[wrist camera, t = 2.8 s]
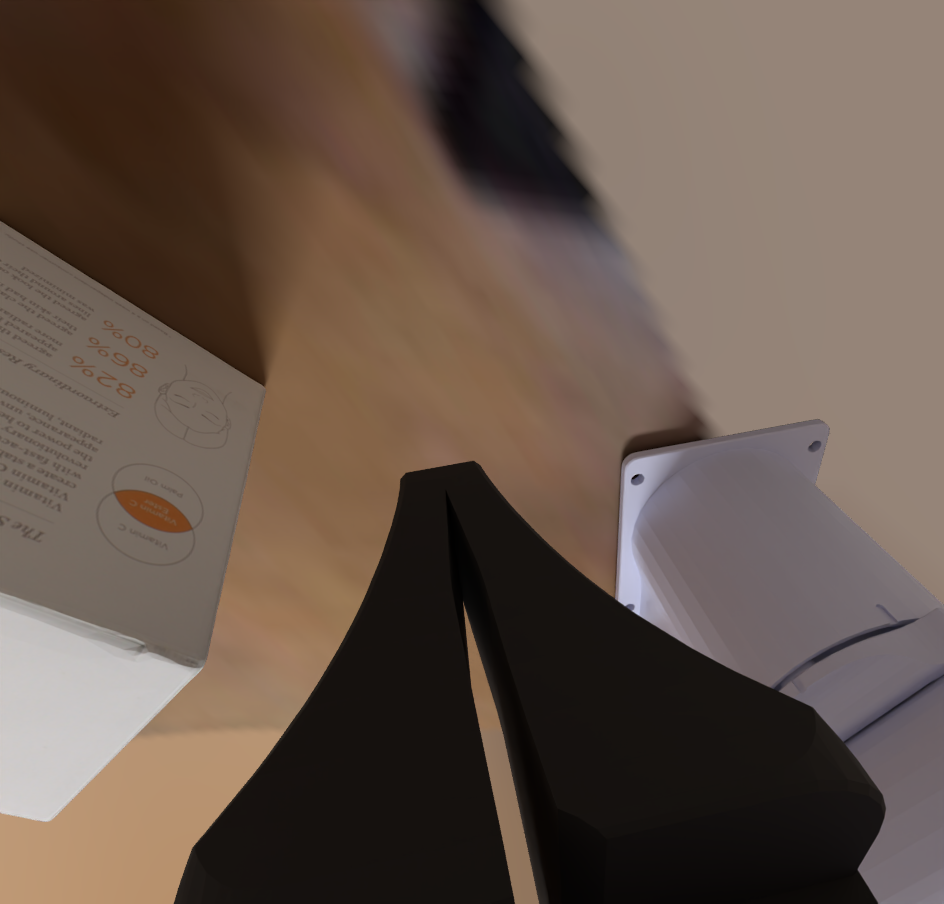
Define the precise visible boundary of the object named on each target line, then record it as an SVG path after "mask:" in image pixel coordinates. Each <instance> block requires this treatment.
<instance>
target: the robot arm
mask: <svg viewBox="0 0 944 904" xmlns="http://www.w3.org/2000/svg"><path fill="white" fill-rule="evenodd" d="M829 430H830V429H829V426H828V425H827V424H825V423H824V422H823V421H821V420H819V419H816V420H809V421H804V422H798V423H793V424H788V425H782V426H777V427H771V428H765V429H760V430H755V431H750V432H744V433H738V434H733V435H727V436H722V437H716V438H711V439H705V440H700V441H695V442H689V443H684V444H678V445H673V446H667V447H662V448H656V449H651V450H645V451H640V452H635V453H632V454H630V455H628V456H627V457H626V458H625V459H624V461H623V463H622V470H621V491H620V512H619V533H618V554H617V575H616V597H615V598H613V597H612V596H610V595H609V594H608V593H606V592H605V591H604V590H602V589H601V588H600V587H598V586H597V585H596V584H595V583H593V582H592V581H591V580H589V579H588V578H587V577H586V576H584V575H583V574H582V573H581V572H579V571H578V570H577V569H576V568H575V567H574V566H572V565H571V564H570V563H569V562H568V561H567V560H565V559H564V558H563V557H562V556H561V555H560V554H559V553H558V552H557V551H556V550H554V549H553V548H552V547H551V546H550V545H549V544H548V543H547V542H546V541H545V540H544V539H543V538H542V537H541V536H540V535H539V534H538V533H537V532H536V531H535V530H534V529H533V528H532V527H531V526H530V525H529V524H528V523H527V522H526V521H525V520H524V519H523V518H522V517H521V516H520V515H519V514H518V513H517V512H516V510H515V509H514V508H513V507H512V506H511V505H510V504H509V503H508V501H507V500H506V499H505V498H504V497H503V495H502V494H501V493H500V492H499V491H498V489H497V488H496V487H495V486H494V484H493V483H492V482H491V480H490V479H489V478H488V476H487V475H486V473H485V472H484V470H483V469H482V467H481V466H480V465H479V464H478V463H476V462H475V461H470V462H464V463H458V464H453V465H447V466H442V467H436V468H431V469H425V470H420V471H414V472H408V473H405V475H404V476H403V477H402V478H401V479H400V491H399V497H398V502H397V507H396V511H395V515H394V518H393V522H392V526H391V529H390V532H389V535H388V538H387V541H386V544H385V547H384V550H383V553H382V556H381V559H380V561H379V564H378V566H377V569H376V571H375V574H374V576H373V578H372V581H371V583H370V586H369V588H368V591H367V593H366V595H365V598H364V600H363V602H362V604H361V606H360V608H359V610H358V612H357V615H356V617H355V619H354V621H353V623H352V625H351V626H350V628H349V630H348V632H347V634H346V636H345V638H344V640H343V642H342V643H341V645H340V647H339V649H338V650H337V652H336V654H335V656H334V657H333V659H332V661H331V662H330V664H329V666H328V667H327V669H326V671H325V672H324V674H323V676H322V677H321V679H320V681H319V682H318V684H317V686H316V687H315V689H314V690H313V692H312V693H311V695H310V697H309V698H308V700H307V701H306V703H305V704H304V706H303V707H302V708H301V710H300V711H299V713H298V714H297V715H296V717H295V718H294V720H293V721H292V722H291V724H290V725H289V727H288V728H287V729H286V731H285V732H284V734H283V735H282V736H281V738H280V739H279V741H278V742H277V743H276V745H275V746H274V748H273V749H272V750H271V752H270V753H269V755H268V756H267V757H266V759H265V760H264V761H263V763H262V764H261V765H260V767H259V768H258V769H257V770H256V772H255V773H254V774H253V776H252V777H251V778H250V779H249V780H248V782H247V783H246V784H245V785H244V786H243V788H242V789H241V790H240V791H239V793H238V794H237V795H236V796H235V797H234V799H233V800H232V801H231V802H230V803H229V805H228V806H227V807H226V808H225V809H224V811H223V812H222V813H221V814H220V816H219V817H218V818H217V819H216V820H215V822H214V823H213V824H212V825H211V826H210V828H209V829H208V830H207V831H206V833H205V834H204V835H203V836H202V837H201V838H200V840H199V841H198V842H197V843H196V844H195V845H194V847H193V848H192V851H191V854H190V856H189V859H188V862H187V865H186V867H185V870H184V873H183V876H182V879H181V882H180V885H179V888H178V891H177V895H176V898H175V902H174V904H515V902H514V896H513V891H512V886H511V881H510V876H509V871H508V866H507V861H506V855H505V850H504V845H503V840H502V835H501V830H500V825H499V820H498V815H497V810H496V806H495V801H494V797H493V792H492V786H491V781H490V777H489V772H488V767H487V762H486V757H485V752H484V747H483V742H482V738H481V733H480V728H479V723H478V718H477V713H476V708H475V703H474V698H473V693H472V688H471V679H470V668H469V658H468V648H467V637H466V627H465V617H464V606H465V609H466V612H467V615H468V619H469V622H470V625H471V628H472V632H473V635H474V638H475V641H476V645H477V648H478V651H479V654H480V657H481V661H482V664H483V667H484V670H485V673H486V677H487V680H488V683H489V686H490V689H491V693H492V696H493V699H494V702H495V705H496V709H497V712H498V716H499V720H500V724H501V727H502V731H503V735H504V739H505V744H506V749H507V753H508V758H509V762H510V767H511V772H512V777H513V781H514V785H515V790H516V795H517V800H518V804H519V809H520V814H521V819H522V824H523V828H524V833H525V838H526V842H527V847H528V852H529V856H530V861H531V866H532V871H533V876H534V881H535V885H536V890H537V895H538V900H539V904H944V604H942V603H941V602H940V601H939V600H938V599H937V598H936V597H935V596H934V595H933V594H932V593H931V592H930V591H928V590H927V589H926V588H925V587H924V586H923V585H922V584H921V583H920V582H919V581H918V580H917V579H915V578H914V577H913V576H912V575H911V574H910V573H909V572H908V571H907V570H906V569H905V568H904V567H903V566H902V565H900V564H899V563H898V562H897V561H896V560H895V559H894V558H893V557H892V556H891V555H890V554H888V553H887V552H886V551H885V550H884V549H883V548H882V547H881V546H880V545H879V544H878V543H877V542H876V541H874V540H873V539H872V538H871V537H870V536H869V535H868V534H867V533H866V532H865V531H864V530H863V529H862V528H861V527H860V526H858V525H857V524H856V523H855V522H854V521H853V520H852V519H851V518H850V517H849V516H848V515H847V514H845V513H844V512H843V511H842V510H841V509H840V508H839V507H838V506H837V505H836V504H835V503H834V502H833V501H832V500H831V499H829V498H828V497H827V496H826V495H825V494H824V493H823V492H822V491H821V490H820V489H819V488H818V487H816V486H815V483H816V479H817V476H818V472H819V468H820V464H821V461H822V457H823V454H824V450H825V447H826V443H827V439H828V436H829ZM812 442H813V443H812ZM811 443H812V445H810V444H811ZM809 445H810V446H809ZM637 474H640V475H639V476H638V477H637V478H635V479H632V477H633V476H634V475H637ZM463 602H464V606H463Z"/></svg>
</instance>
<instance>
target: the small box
mask: <svg viewBox="0 0 944 904" xmlns="http://www.w3.org/2000/svg"><path fill="white" fill-rule="evenodd" d="M265 393H266V389H265V388H264V386H262V385H261V384H259V383H258V382H256V381H254V380H253V379H251V378H249V377H248V376H246V375H245V374H243V373H241V372H240V371H238V370H236V369H235V368H233V367H232V366H230V365H228V364H227V363H225V362H224V361H222V360H221V359H219V358H217V357H216V356H214V355H213V354H211V353H209V352H208V351H206V350H205V349H203V348H201V347H200V346H198V345H197V344H195V343H194V342H192V341H191V340H189V339H187V338H186V337H184V336H183V335H181V334H179V333H178V332H176V331H174V330H173V329H171V328H169V327H168V326H166V325H165V324H163V323H162V322H160V321H158V320H157V319H155V318H154V317H152V316H151V315H149V314H147V313H146V312H144V311H143V310H141V309H139V308H138V307H136V306H135V305H133V304H132V303H130V302H128V301H127V300H125V299H124V298H122V297H120V296H119V295H117V294H116V293H114V292H113V291H111V290H109V289H108V288H106V287H105V286H103V285H101V284H100V283H98V282H96V281H95V280H93V279H92V278H90V277H88V276H87V275H85V274H84V273H82V272H80V271H79V270H77V269H76V268H74V267H72V266H71V265H69V264H68V263H66V262H64V261H63V260H61V259H60V258H58V257H57V256H55V255H53V254H52V253H50V252H49V251H47V250H45V249H44V248H42V247H41V246H39V245H38V244H36V243H34V242H33V241H31V240H30V239H28V238H26V237H25V236H23V235H22V234H20V233H19V232H17V231H15V230H14V229H12V228H11V227H9V226H7V225H6V224H4V223H3V222H1V221H0V813H3V814H8V815H13V816H18V817H23V818H28V819H33V820H37V821H43V822H47V821H51V820H52V819H53V818H54V817H56V816H57V815H58V814H59V813H60V812H61V810H62V809H63V808H64V807H65V806H66V805H67V804H68V803H69V802H70V801H71V800H72V799H73V798H74V797H75V796H76V795H77V794H78V793H79V792H80V791H81V790H82V789H83V788H84V787H85V786H86V785H87V784H88V783H89V782H90V781H91V780H92V779H93V778H94V777H95V776H96V775H97V774H98V773H99V772H100V771H101V770H102V769H103V768H104V767H105V766H106V765H107V764H108V763H109V762H110V761H111V760H112V759H113V758H114V757H115V756H116V755H117V754H118V753H119V752H120V751H121V750H122V749H123V748H124V747H125V746H126V745H127V744H128V743H129V742H130V741H131V740H132V739H133V738H134V737H135V736H136V735H137V734H138V733H139V732H140V731H141V730H142V729H143V728H144V727H145V726H146V725H147V724H148V723H149V722H150V721H151V720H152V719H153V718H154V717H155V716H156V715H157V714H158V713H159V712H160V711H161V710H162V709H163V708H164V707H165V706H166V705H167V704H168V703H169V702H170V701H171V700H172V699H173V698H174V697H175V696H176V695H177V694H178V693H179V692H180V691H181V690H182V689H183V688H184V686H185V685H186V684H187V683H188V682H189V681H190V680H191V679H192V678H194V677H195V676H196V675H197V674H198V673H199V672H200V671H201V669H202V668H203V667H204V664H205V662H206V660H207V656H208V651H209V646H210V641H211V637H212V632H213V628H214V623H215V618H216V613H217V609H218V605H219V601H220V596H221V591H222V587H223V582H224V578H225V573H226V569H227V565H228V560H229V556H230V551H231V546H232V541H233V537H234V533H235V529H236V524H237V520H238V515H239V511H240V506H241V502H242V497H243V492H244V488H245V484H246V480H247V474H248V470H249V466H250V460H251V455H252V451H253V447H254V442H255V437H256V432H257V428H258V424H259V419H260V414H261V410H262V405H263V401H264V397H265Z"/></svg>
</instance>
